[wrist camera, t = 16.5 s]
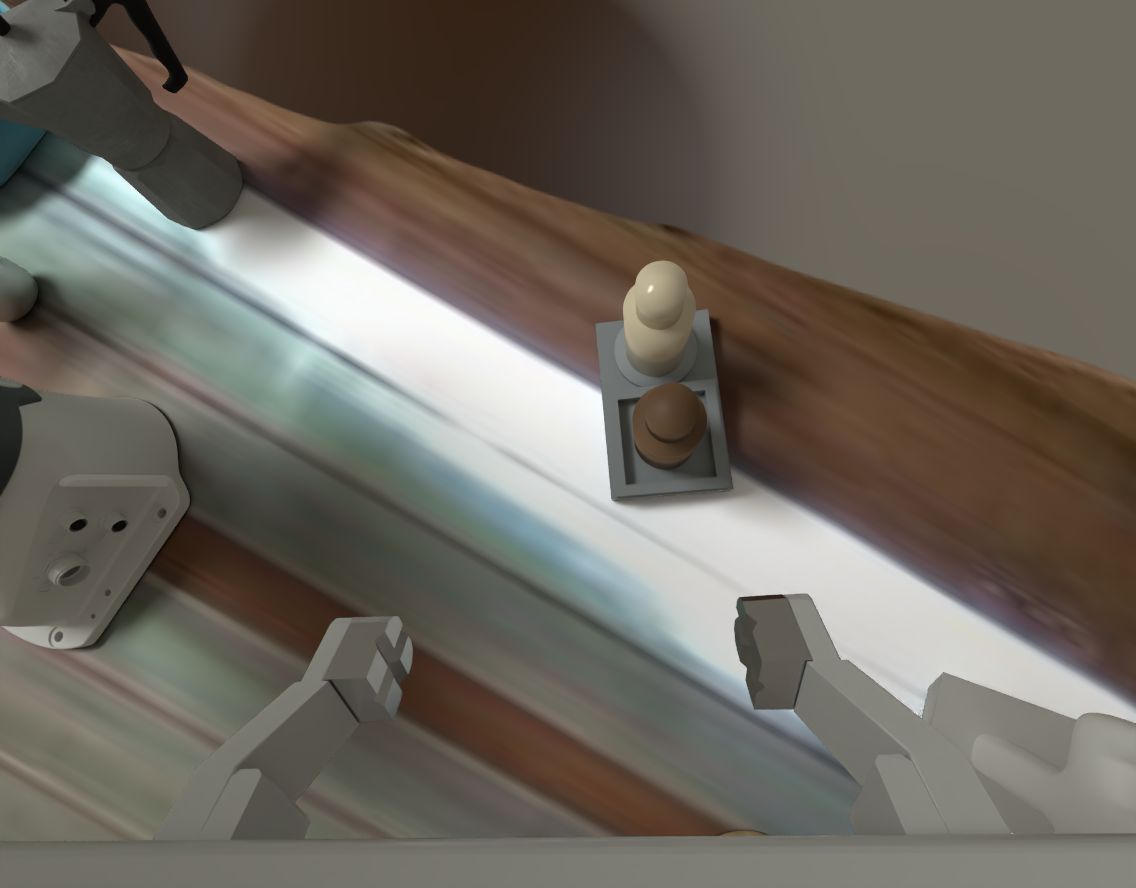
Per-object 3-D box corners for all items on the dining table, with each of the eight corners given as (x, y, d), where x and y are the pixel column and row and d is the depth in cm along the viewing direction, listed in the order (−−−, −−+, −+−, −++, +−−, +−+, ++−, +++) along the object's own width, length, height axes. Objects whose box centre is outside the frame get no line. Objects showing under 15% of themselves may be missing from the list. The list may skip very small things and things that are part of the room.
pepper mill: (684, 477, 36) (700, 458, 27) (626, 458, 37) (620, 433, 28) (703, 420, 37) (724, 382, 27) (645, 402, 38) (646, 359, 28)
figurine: (881, 782, 32) (1084, 986, 18) (914, 641, 33) (1129, 723, 19) (1001, 831, 31) (1330, 1097, 16) (1031, 682, 32) (1361, 805, 17)
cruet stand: (730, 490, 37) (771, 470, 26) (612, 500, 38) (601, 485, 27) (705, 313, 40) (732, 223, 28) (596, 327, 41) (580, 246, 29)
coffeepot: (179, 262, 49) (-80, 107, 31) (135, 206, 51) (-131, 32, 33) (293, 158, 49) (101, -53, 31) (244, 108, 51) (39, -116, 34)
